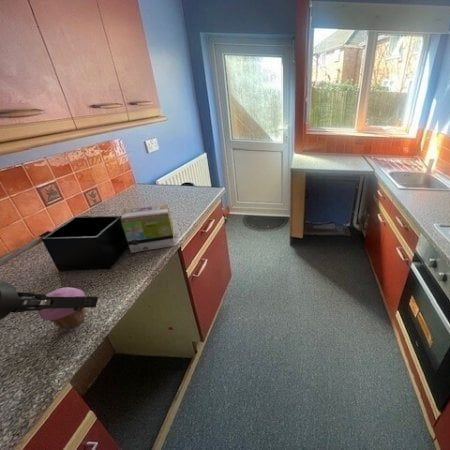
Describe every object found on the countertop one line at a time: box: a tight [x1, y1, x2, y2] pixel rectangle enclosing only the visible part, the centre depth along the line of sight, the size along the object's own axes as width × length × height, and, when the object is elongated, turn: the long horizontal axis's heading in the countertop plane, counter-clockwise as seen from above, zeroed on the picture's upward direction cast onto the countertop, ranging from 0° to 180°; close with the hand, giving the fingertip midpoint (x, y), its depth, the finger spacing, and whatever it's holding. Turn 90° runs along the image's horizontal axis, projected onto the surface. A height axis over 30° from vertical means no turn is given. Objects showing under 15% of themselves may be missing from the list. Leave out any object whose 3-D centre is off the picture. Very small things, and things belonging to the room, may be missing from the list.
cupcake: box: [37, 286, 86, 329], centre depth 63 cm, size 9×9×10 cm
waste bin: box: [41, 215, 130, 272], centre depth 87 cm, size 16×16×13 cm
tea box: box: [121, 203, 176, 254], centre depth 95 cm, size 15×10×15 cm, turn 115°
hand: (77, 301), depth 66 cm, fingers closed on cupcake, 9 cm apart
